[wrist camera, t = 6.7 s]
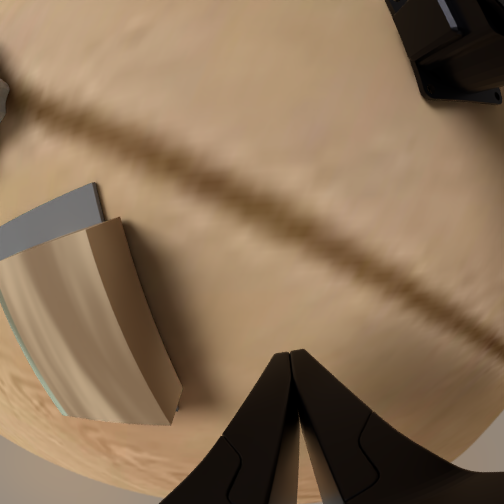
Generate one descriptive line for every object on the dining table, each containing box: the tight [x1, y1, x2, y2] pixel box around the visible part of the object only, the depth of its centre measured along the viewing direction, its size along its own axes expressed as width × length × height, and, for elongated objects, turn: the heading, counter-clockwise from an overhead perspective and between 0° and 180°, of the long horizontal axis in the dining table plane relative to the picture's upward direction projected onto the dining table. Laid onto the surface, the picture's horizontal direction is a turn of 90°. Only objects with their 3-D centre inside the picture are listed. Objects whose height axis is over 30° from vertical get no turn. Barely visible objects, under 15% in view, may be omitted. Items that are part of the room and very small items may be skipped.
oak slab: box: [0, 217, 183, 425], centre depth 12 cm, size 3×10×8 cm
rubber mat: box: [0, 182, 179, 412], centre depth 14 cm, size 10×14×1 cm
